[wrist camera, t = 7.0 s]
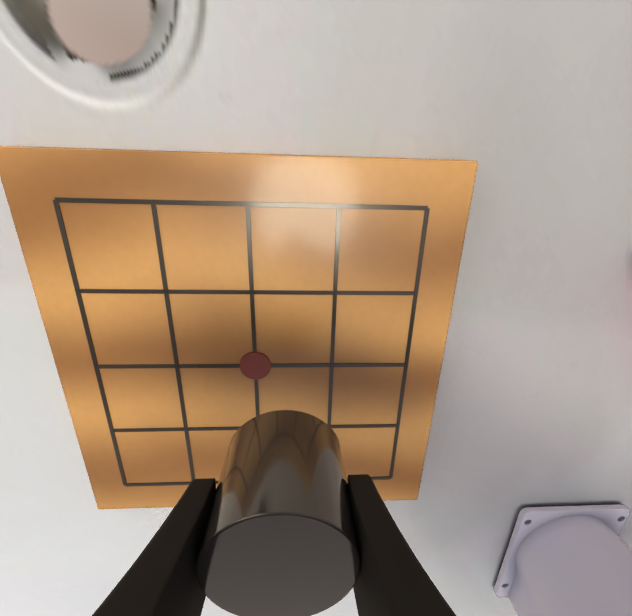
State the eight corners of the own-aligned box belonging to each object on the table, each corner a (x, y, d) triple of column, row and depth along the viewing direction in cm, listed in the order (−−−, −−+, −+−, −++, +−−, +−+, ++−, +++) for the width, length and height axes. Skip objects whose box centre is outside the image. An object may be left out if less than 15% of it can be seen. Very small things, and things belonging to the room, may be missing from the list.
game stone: (339, 496, 12) (355, 617, 8) (231, 499, 12) (203, 626, 8) (344, 408, 10) (367, 510, 7) (223, 410, 10) (185, 517, 7)
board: (412, 486, 21) (418, 501, 20) (107, 495, 20) (96, 511, 19) (467, 162, 14) (480, 160, 13) (11, 148, 13) (-13, 144, 12)
